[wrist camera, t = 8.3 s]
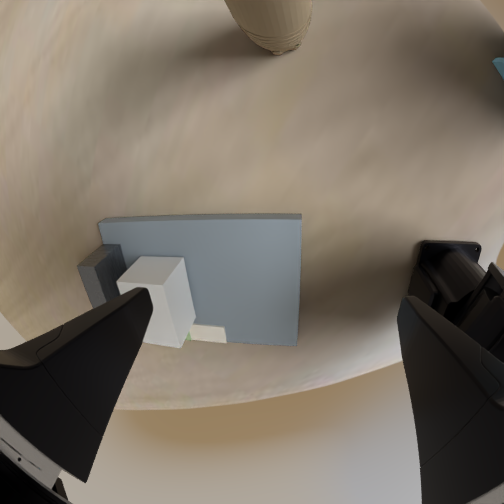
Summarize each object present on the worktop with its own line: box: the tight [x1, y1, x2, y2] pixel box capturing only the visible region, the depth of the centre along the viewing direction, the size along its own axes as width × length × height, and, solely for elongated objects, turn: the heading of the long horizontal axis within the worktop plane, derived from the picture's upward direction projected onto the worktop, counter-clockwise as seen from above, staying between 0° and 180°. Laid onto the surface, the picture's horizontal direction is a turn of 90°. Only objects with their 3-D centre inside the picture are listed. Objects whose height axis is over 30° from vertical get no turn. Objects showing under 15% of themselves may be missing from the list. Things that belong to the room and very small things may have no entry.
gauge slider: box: [116, 256, 196, 348], centre depth 22 cm, size 4×9×4 cm, turn 4°
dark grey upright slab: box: [77, 244, 127, 309], centre depth 22 cm, size 2×8×4 cm, turn 4°
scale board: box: [98, 214, 301, 346], centre depth 23 cm, size 17×12×2 cm
